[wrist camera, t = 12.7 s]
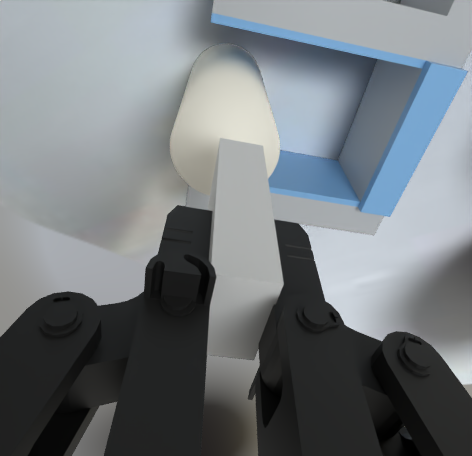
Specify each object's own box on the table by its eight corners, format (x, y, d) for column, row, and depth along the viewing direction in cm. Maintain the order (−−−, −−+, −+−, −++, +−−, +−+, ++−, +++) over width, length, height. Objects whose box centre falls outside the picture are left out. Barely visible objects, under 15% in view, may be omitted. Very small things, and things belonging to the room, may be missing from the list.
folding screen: (268, -377, 15) (291, -571, 9) (553, -272, 16) (712, -385, 11) (192, 164, 28) (184, 211, 23) (350, 190, 30) (376, 240, 25)
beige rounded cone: (195, 36, 23) (174, 84, 14) (268, 51, 24) (293, 106, 15) (186, 110, 26) (165, 189, 17) (252, 122, 27) (265, 204, 18)
